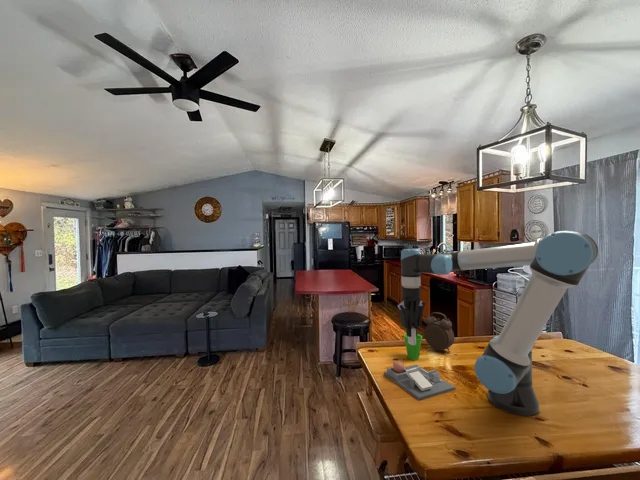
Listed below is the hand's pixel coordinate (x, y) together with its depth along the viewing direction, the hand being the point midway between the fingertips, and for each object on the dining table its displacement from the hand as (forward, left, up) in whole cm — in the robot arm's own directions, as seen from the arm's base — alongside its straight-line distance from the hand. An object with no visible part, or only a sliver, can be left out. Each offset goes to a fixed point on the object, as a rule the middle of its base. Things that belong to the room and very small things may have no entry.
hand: (412, 343), depth 117 cm
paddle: (-4, 0, -13) cm, 13 cm away
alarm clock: (+21, -36, -17) cm, 45 cm away
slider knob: (-4, -8, -15) cm, 18 cm away
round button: (+6, +2, -14) cm, 15 cm away
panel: (0, -3, -16) cm, 17 cm away
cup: (+19, -17, -17) cm, 31 cm away
